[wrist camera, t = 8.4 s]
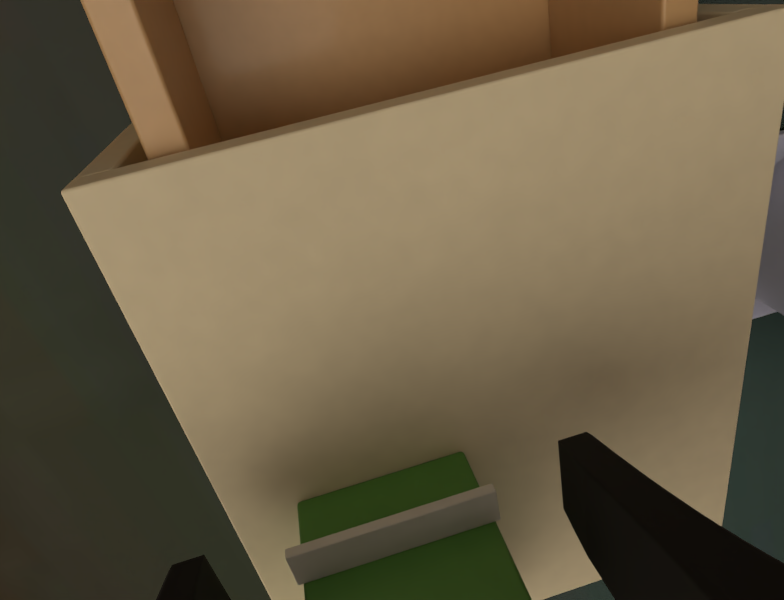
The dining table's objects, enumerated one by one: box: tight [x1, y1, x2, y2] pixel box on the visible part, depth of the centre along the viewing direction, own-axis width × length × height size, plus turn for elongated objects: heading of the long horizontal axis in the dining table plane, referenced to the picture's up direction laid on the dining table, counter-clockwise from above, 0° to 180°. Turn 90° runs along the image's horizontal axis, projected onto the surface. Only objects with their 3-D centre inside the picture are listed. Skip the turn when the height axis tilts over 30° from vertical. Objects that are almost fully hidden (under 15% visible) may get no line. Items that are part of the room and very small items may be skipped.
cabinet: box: [61, 4, 784, 600], centre depth 17 cm, size 16×14×8 cm
